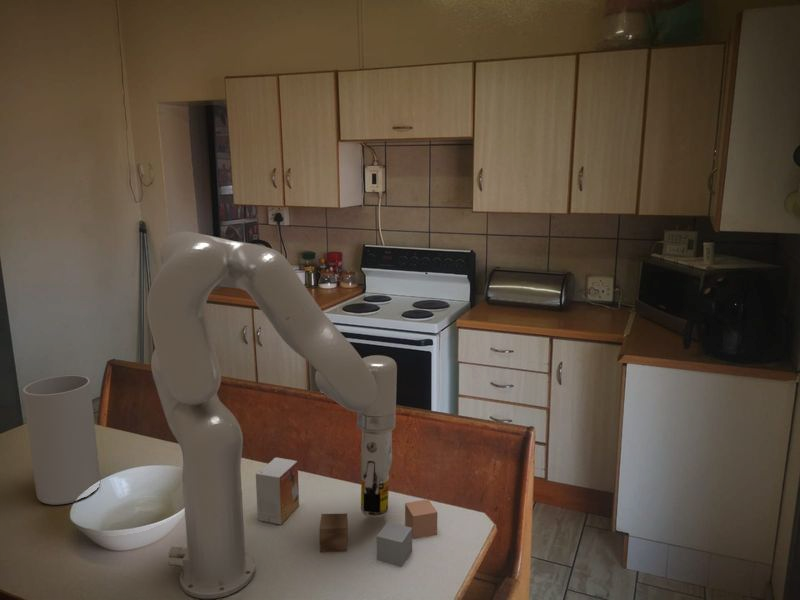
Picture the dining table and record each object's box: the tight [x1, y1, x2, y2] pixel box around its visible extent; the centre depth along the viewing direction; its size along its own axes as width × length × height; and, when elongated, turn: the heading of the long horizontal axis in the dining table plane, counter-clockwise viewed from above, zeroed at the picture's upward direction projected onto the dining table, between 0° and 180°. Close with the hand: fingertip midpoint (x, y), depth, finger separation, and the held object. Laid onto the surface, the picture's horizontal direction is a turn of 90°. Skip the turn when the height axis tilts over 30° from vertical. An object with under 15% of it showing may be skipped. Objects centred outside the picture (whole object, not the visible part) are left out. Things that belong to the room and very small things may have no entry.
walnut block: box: [318, 512, 349, 553], centre depth 116 cm, size 5×5×5 cm
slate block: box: [376, 521, 413, 568], centre depth 112 cm, size 5×5×5 cm
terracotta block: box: [404, 499, 438, 540], centre depth 120 cm, size 5×5×5 cm
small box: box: [255, 456, 300, 526], centre depth 126 cm, size 8×6×10 cm
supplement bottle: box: [360, 473, 390, 518], centre depth 122 cm, size 6×6×10 cm
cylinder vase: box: [22, 374, 101, 506], centre depth 132 cm, size 12×12×25 cm
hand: (374, 502), depth 123 cm, fingers closed on supplement bottle, 5 cm apart
